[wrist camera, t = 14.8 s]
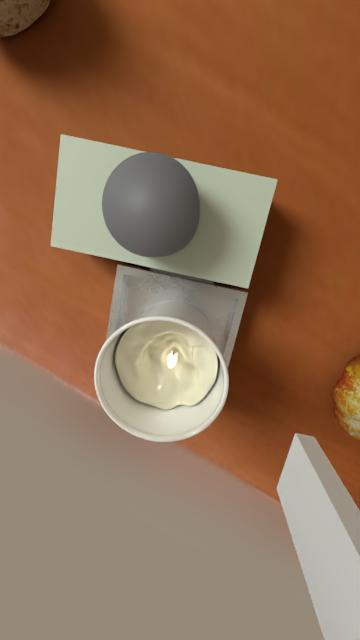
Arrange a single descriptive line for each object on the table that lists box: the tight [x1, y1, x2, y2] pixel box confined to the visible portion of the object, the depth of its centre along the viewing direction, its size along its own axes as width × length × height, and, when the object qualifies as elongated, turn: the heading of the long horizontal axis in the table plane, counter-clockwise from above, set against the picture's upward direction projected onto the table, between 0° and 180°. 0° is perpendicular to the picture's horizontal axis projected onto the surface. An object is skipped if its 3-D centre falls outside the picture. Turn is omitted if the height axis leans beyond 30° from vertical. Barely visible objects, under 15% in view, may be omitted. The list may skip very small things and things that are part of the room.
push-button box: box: [51, 134, 277, 289], centre depth 25 cm, size 18×9×10 cm, turn 78°
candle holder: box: [94, 300, 229, 442], centre depth 26 cm, size 10×10×12 cm
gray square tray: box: [106, 264, 248, 368], centre depth 31 cm, size 14×14×2 cm
